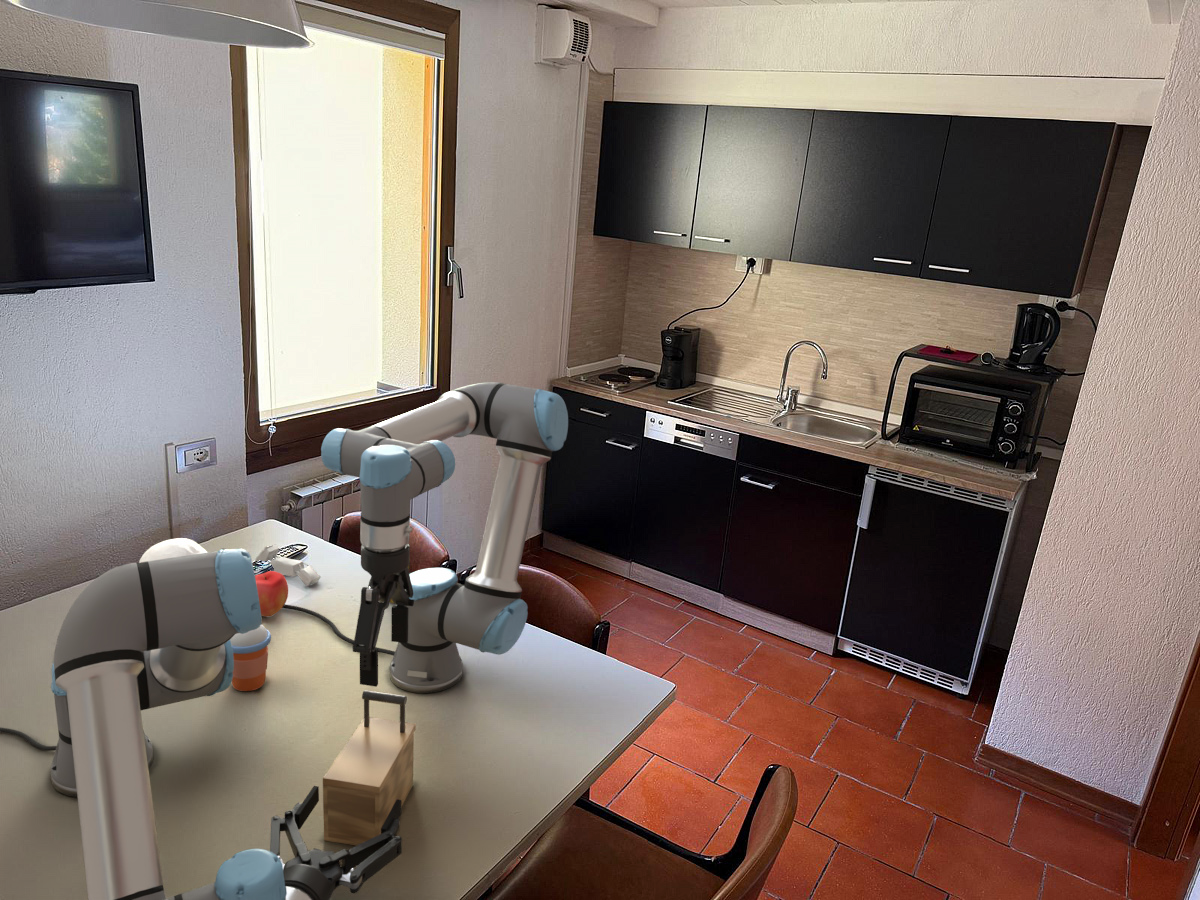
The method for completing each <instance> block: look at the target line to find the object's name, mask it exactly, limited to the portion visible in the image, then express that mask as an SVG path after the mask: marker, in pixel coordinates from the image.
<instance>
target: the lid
mask: <svg viewBox="0 0 1200 900" xmlns="http://www.w3.org/2000/svg"><path fill="white" fill-rule="evenodd" d="M361 698H362V700H363V718H362V719H361V721H360V722H359V724H358V726H357V727H356V728H355V730H354V731H353V733H352V734H351V736H350V737H349V739H348V740H347V741H346V742H345V744H344V746H343V747H342V749H341V750H340V752H339V753H338V755H337V756H336V758H335V759H334V760H333V762H332V764H331V765H330V767H328V770H327V771H326V772H325V774H324V776H323V777H322V785H323V784H324V785H330V786H336V787H343V788H349V789H355V790H361V791H367V792H374V793H380V792H381V790H382V788H383V786H384V785H385V783H386V781H387V779H388V778H389V776H390V774H391V772H392V771H393V769H394V767H395V765H396V763H397V762H398V760H399V758H400V756H401V755H402V753H403V751H404V749H405V748H406V746H407V744H408V742H409V741H410V739H411V737H412V735H413V734H414V735H415V732H416V730H417V724H416V723H412V722H406V706H407V702H408V695H407V696H406V695H401V694H395V693H394V694H393V693H387V692H379V691H373V690H367V689H364V690H363V691H362V695H361ZM370 701H373V702H380V703H386V704H393V705H398V706H399V720H394V719H393V720H392V719H385V718H380V717H373V716H370Z"/></svg>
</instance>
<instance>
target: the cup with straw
mask: <svg viewBox="0 0 1200 900" xmlns="http://www.w3.org/2000/svg"><path fill="white" fill-rule="evenodd" d="M230 641H231V644H232V649H233V657H234V670H233V679H232V682H231V684H232V687H233V688H234V690H236V691H240V692H250V691H251V692H252V691H255V690H258V689H259V688H261V687H262V686H263V685H264V684H265V682H266V675H267V669H268V660H269V644H270V643H271V641H272V634H271V632H270V631H269V630H268V629H267V628H266V627H265V626H264V625H263V624H262V623H261V625H260V627H259V628H257V629H255V630H251V631H248V632H247V633H244V634H241V633H237V634H235V635H234V636H233V637H232V638H231V639H230Z"/></svg>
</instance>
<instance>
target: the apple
mask: <svg viewBox="0 0 1200 900" xmlns="http://www.w3.org/2000/svg"><path fill="white" fill-rule="evenodd" d="M255 579H256V585H257V591H258V597H259V603H260V610H261V617H265V618H269V617H273V616H275V615H276V614H278V613H279V612H280V611H281V610H282V609H283V608H282V607H283V606H284V604H286V603H287V600H288V597H289V584H288V581H287V579H286V577H285V575H282V574H281V573H278V572H275V571H268V570H267V571H266V572H264V573H259V574H255Z"/></svg>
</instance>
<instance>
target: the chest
mask: <svg viewBox="0 0 1200 900" xmlns="http://www.w3.org/2000/svg"><path fill="white" fill-rule="evenodd" d="M414 741H415V733H414V734H413V735H412V737H411V739H410V741H409V742H408V744H407V746H406V748H405V749H404V751H403V753H402V755H401V756H400V758H399V760H398V762H397V763H396V765H395V767H394V769H393V771H392V772H391V774H390V776H389V778H388V779H387V781H386V783H385V785H384V786H383V788H382V790H381V792H380V793H374V792H367V791H361V790H355V789H349V788H343V787H336V786H330V785H324V784H323V783H322V806H323V807H322V808H323V809H322V810H323V811H322V813H323V840H324V841H326V842H333V843H339V844H345V845H350V846H357V845H359V844H361V843H363V842H365V841H367V840H369V839H372V838H374V837H376V836H378V835H380V834H381V828H382V826H383V824H384V822H385V820H386V818H387V817H388V815H389V813H390V811H391V809H392V807H393V805H394V804H395V802H396V800H397V799H398V800H401V808H402V807H403V805H404V803H405V801H406V799H407V797H408V796H409V793H410V792H411V790H412V788H413V786H414V754H415V753H414V746H415V742H414Z"/></svg>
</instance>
